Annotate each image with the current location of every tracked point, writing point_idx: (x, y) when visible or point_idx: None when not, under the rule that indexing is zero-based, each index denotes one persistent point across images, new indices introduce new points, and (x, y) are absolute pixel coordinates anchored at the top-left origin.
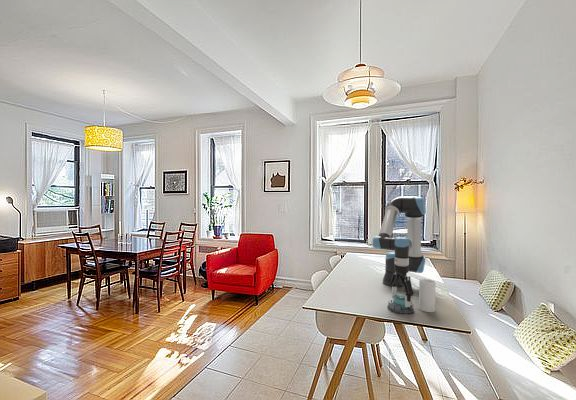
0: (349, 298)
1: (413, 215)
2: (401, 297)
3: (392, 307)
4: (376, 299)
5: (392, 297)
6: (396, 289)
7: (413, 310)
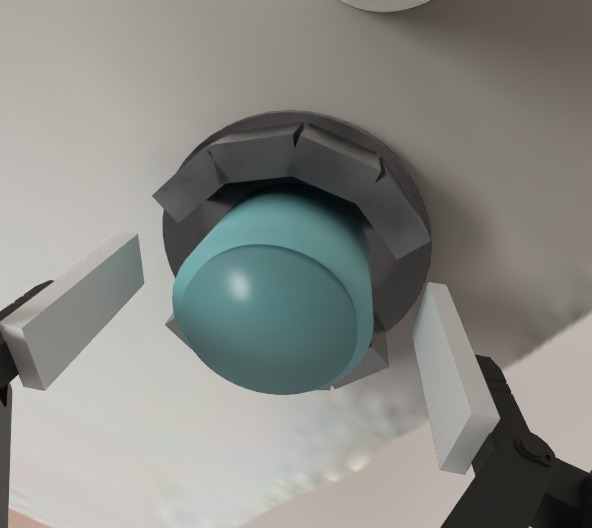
0: (51, 429)
1: None
2: (295, 343)
3: None
4: None
5: (137, 287)
6: (58, 307)
7: (413, 186)
